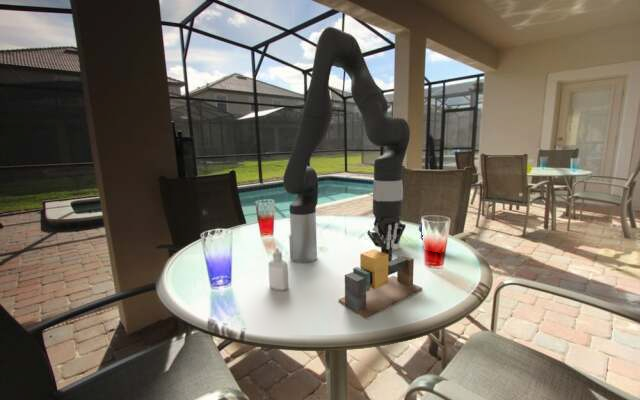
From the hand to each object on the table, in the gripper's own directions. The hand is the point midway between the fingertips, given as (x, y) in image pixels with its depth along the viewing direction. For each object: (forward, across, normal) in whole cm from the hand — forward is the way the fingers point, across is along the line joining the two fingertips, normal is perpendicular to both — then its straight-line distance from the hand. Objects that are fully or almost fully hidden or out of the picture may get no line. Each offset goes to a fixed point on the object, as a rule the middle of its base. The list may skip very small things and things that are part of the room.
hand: (386, 260), depth 79 cm
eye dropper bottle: (+10, +21, -22) cm, 32 cm away
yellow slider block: (+5, +5, 0) cm, 7 cm away
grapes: (+10, -40, -13) cm, 43 cm away
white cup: (+10, -30, -23) cm, 39 cm away
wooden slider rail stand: (+9, +2, 0) cm, 9 cm away
